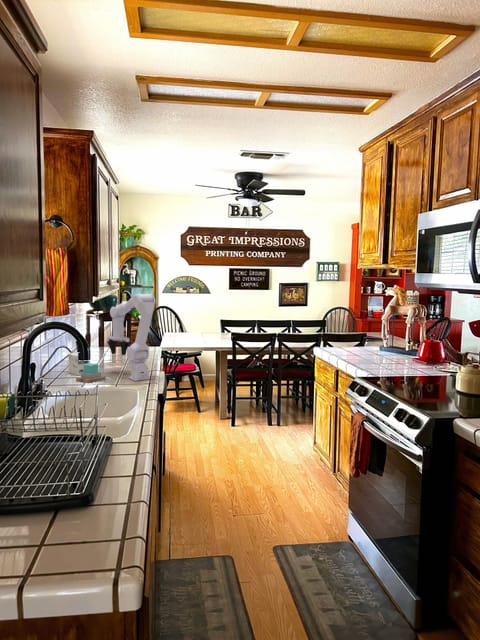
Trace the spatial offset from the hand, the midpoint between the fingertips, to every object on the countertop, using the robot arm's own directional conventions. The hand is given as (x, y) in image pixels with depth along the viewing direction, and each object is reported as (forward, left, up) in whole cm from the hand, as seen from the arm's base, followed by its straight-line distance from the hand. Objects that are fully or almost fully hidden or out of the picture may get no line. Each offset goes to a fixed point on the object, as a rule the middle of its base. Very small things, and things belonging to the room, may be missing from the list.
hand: (118, 354), depth 259 cm
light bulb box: (+12, +18, -11) cm, 24 cm away
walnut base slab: (-10, +18, -11) cm, 23 cm away
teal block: (-10, +18, -6) cm, 21 cm away
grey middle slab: (-10, +18, -9) cm, 22 cm away
